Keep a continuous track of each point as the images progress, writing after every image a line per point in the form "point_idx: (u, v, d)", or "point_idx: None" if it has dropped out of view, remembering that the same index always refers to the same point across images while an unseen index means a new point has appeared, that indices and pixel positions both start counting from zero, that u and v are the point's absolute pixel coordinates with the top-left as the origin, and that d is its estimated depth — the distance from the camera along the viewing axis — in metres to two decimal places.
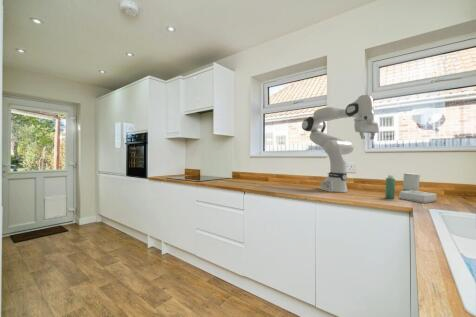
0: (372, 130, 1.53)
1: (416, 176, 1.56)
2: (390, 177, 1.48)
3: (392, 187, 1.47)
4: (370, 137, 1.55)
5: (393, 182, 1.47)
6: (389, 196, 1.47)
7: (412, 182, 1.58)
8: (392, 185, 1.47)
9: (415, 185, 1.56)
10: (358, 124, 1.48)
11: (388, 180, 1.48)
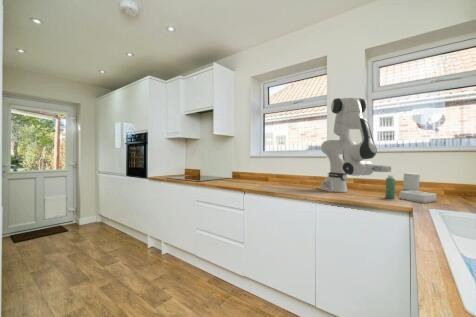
0: None
1: (416, 176, 1.56)
2: (390, 177, 1.48)
3: (392, 187, 1.47)
4: None
5: (393, 182, 1.47)
6: (389, 196, 1.47)
7: (412, 182, 1.58)
8: (392, 185, 1.47)
9: (415, 185, 1.56)
10: None
11: (388, 180, 1.48)
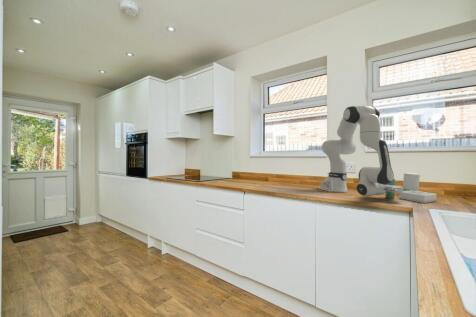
0: None
1: (416, 176, 1.56)
2: None
3: None
4: None
5: (393, 182, 1.47)
6: (389, 196, 1.47)
7: (412, 182, 1.58)
8: None
9: (415, 185, 1.56)
10: None
11: None
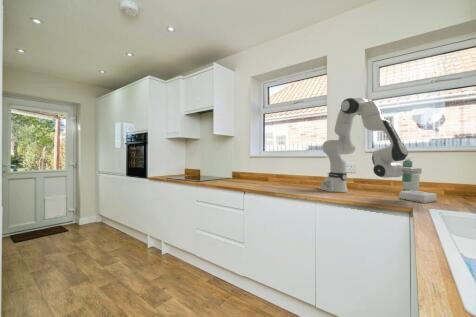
0: None
1: (416, 176, 1.56)
2: (407, 160, 1.45)
3: None
4: None
5: (410, 164, 1.44)
6: (406, 179, 1.44)
7: (412, 182, 1.58)
8: None
9: (415, 185, 1.56)
10: None
11: (405, 163, 1.45)
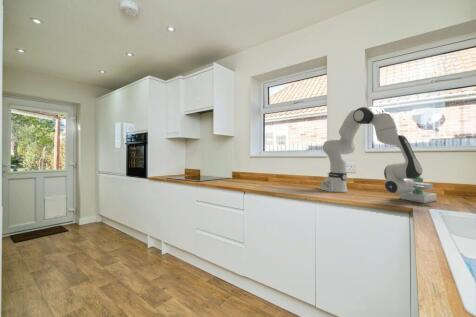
0: None
1: None
2: None
3: None
4: None
5: (421, 182, 1.43)
6: None
7: None
8: None
9: None
10: None
11: (416, 180, 1.44)
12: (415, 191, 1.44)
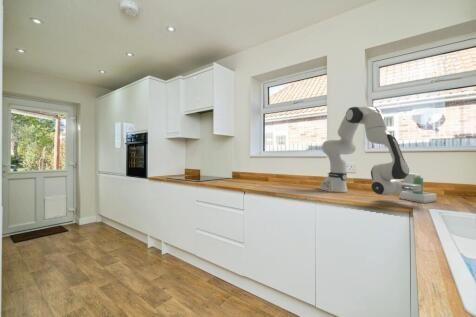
0: None
1: None
2: (418, 176, 1.44)
3: None
4: None
5: (421, 181, 1.43)
6: None
7: (412, 182, 1.58)
8: None
9: None
10: None
11: (416, 179, 1.44)
12: (415, 191, 1.44)
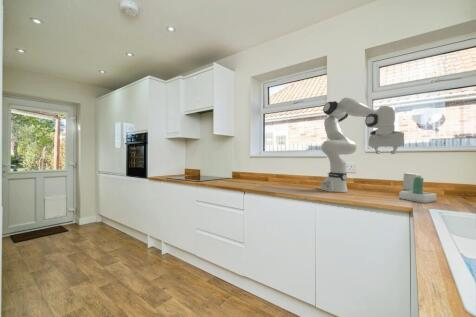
0: (388, 144, 1.39)
1: None
2: (418, 176, 1.44)
3: (420, 187, 1.43)
4: None
5: (422, 182, 1.43)
6: None
7: (412, 182, 1.58)
8: (420, 185, 1.43)
9: None
10: None
11: (416, 180, 1.44)
12: (415, 191, 1.44)
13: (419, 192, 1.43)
